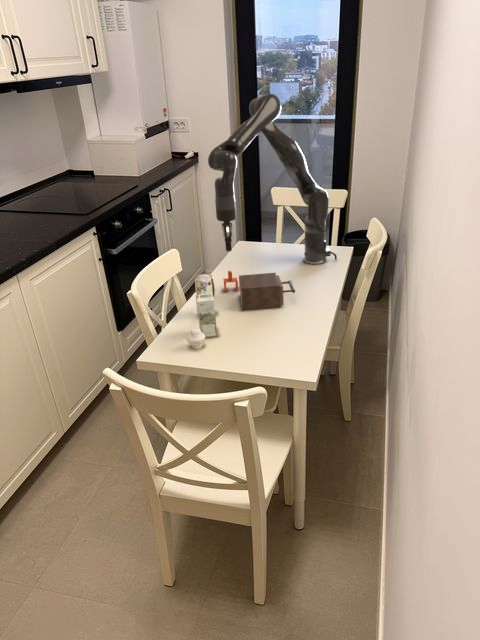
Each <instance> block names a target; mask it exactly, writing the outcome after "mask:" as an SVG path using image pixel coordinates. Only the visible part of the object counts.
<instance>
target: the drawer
mask: <svg viewBox="0 0 480 640" xmlns="http://www.w3.org/2000/svg"><path fill="white" fill-rule="evenodd" d="M276 276H277V279H278V281H279V284H280V306H281V305H284V293H292V294H294V293H296V289H295V286H294V284H293V281H292V280H288V281H282V280H281V277H280V275H279V274H276ZM284 284H285V285H286V284H288V287H289V288H290V289H286V290H285V289H284V286H283V285H284Z"/></svg>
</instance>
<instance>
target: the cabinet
mask: <svg viewBox="0 0 480 640" xmlns="http://www.w3.org/2000/svg"><path fill="white" fill-rule="evenodd" d="M276 275H277V273H276V272H265V273H252V274H241V275H239V274H238V288H239V298H240V304H241V310H242V311H253V310H255V311H256V310H264V309H275V308H276V309H277V308H278V309H279V308H281V305H280V284H279V281H278V279H277V276H276Z"/></svg>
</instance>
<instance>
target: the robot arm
mask: <svg viewBox="0 0 480 640" xmlns="http://www.w3.org/2000/svg"><path fill="white" fill-rule="evenodd" d="M248 109H249V114H250V117H249V118H248V119H247V120H245V121H244V122H243V123H242V124H241V125H239V126H238V127H237V128H236V129H235V130H234V131H232V133H231V134H230V135H229V136H228V138H227V139H226V140H225V141H223V142H221V143H219V144H218V145H217V146H215V147H214V148H213V149H212V150H211V151H210V153H209V154H208V158H207V164H208V166H209V168H210V169H211V170H213V171H219V172H222V176H219V177H217V178H215V180H214V192H215V199H214V201H215V202H214V203H215V217H216V220H217V221H218V222H222V223H221V229H222V235H223V238H224V243H225V251H226V252H232V249H233V248H232V241H233V239H232V237H233V223H232V221H235V220H236V219H237V207H236V206H237V205H236V197H235V185H234V183H235V177H236V173H237V167H238V159H237V157H239V156H241V155H242V154H243V152H244V151H245V150H246V149H247V148H248V146H249V145H250V144H251V143H252V141H254V140H255V138H256V137H257V136H258V135H259V134H260V133H262V134H263V136H264V137H265V138H266V140H267V141H268V143H269V145H270V147H271V148H272V149H273V151H274V153H275V154H276V156H277V158H278V159H279V162H280V164H282V166H283V168H284V169H285V171H286V172H287V174H288V176H289V177H290V178H291V180H292V181H293V182H294V184H295V186H296V188H297V190H298V192H299V195H300V197H301V199H302V201H303V203H304V204H305V205H306V206H307V207H308V209H307V215H306V216H305V218H304V251H303V256H304V258H303V261H304V262H305V263H307V264H310V265H319V264H322V263H326V262H327V261H326V260H327V257H331V255H333V256H334V260H335V261H337V260H338V259H337V258H338V257H337V254H336V253H334V252H333V251H331V249H330V247H327V241H326V224H327V219H328V214H329V200H330V199H329V194H328V192H327V191H326V190H325V189H324V188H322V187H320V186H319V185H318V184H317V183H316V181H315V180H314V179H313V177H312V176H311V174H310V173H309V169H308V165H307V161H306V158H305V155H304V154H303V152H302V150H301V148H300V146H299V145H298V143H297V142H296V141H295V140H294V139H293V138H292V137H291V136H290V135H288V134H287V133H286V132H285V131H284V132H283V131H282V130H281V129H280V128H279V126H278V125H277V124H276V123H275V121H274V120H276V119H278V117H279V116H280V115H281V111H282V104H281V100H280V98H279V97H278V96H277V95H276V94H274V93H266V94H263V95H261V96H258V97H257V98H254V99H252V100H251V101H250V102H249V107H248Z"/></svg>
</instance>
